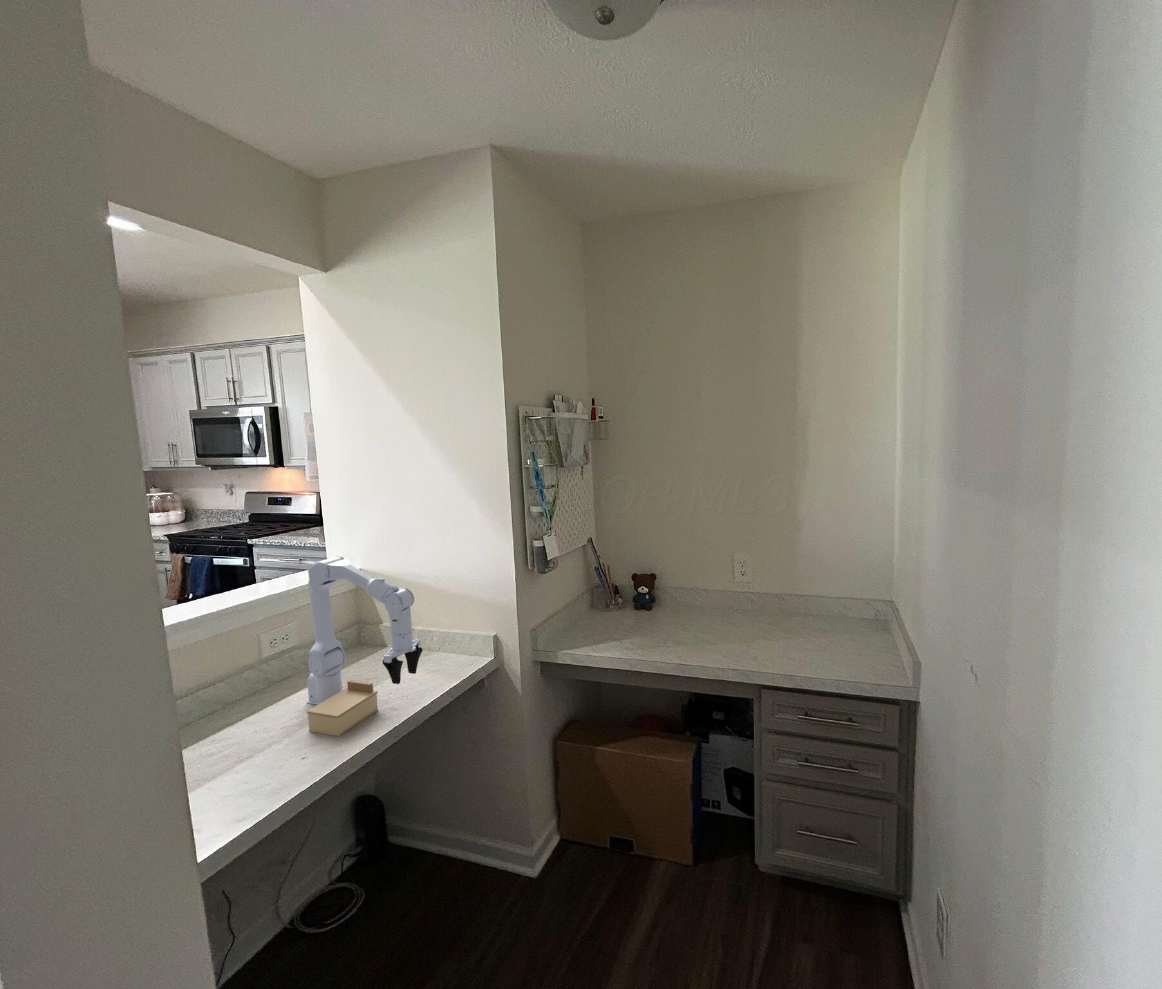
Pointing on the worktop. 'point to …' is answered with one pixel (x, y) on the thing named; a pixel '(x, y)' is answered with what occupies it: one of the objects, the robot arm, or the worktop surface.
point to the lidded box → (343, 719)
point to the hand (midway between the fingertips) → (404, 678)
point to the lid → (344, 700)
